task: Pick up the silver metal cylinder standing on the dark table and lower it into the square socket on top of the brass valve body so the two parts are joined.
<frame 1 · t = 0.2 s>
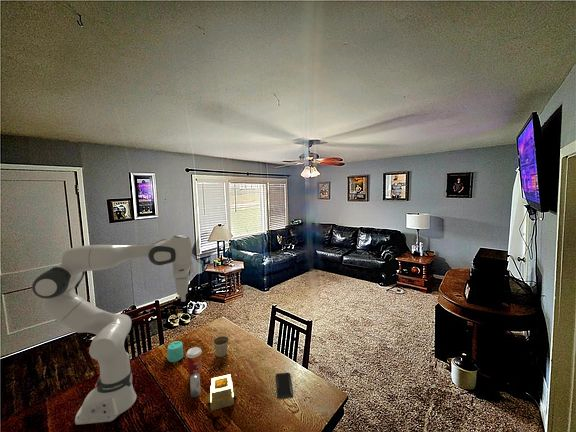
hand: (184, 296, 119), 47 cm above the table, fingers open, 8 cm apart
phone: (283, 386, 125), on the table
silver metal cylinder: (195, 393, 120), on the table
paper cup: (195, 375, 132), on the table
valve body: (222, 398, 117), on the table
flower pot: (221, 354, 149), on the table
turquoise rounded container: (175, 358, 147), on the table
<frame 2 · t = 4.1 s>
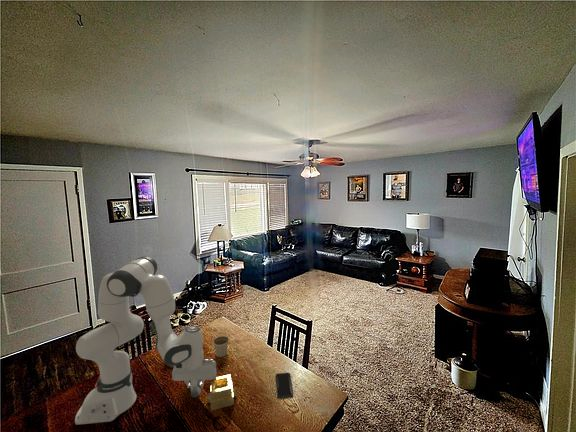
hand: (195, 386, 120), 4 cm above the table, fingers closed on silver metal cylinder, 4 cm apart
silver metal cylinder: (195, 393, 120), on the table, touching gripper
everything else where it was.
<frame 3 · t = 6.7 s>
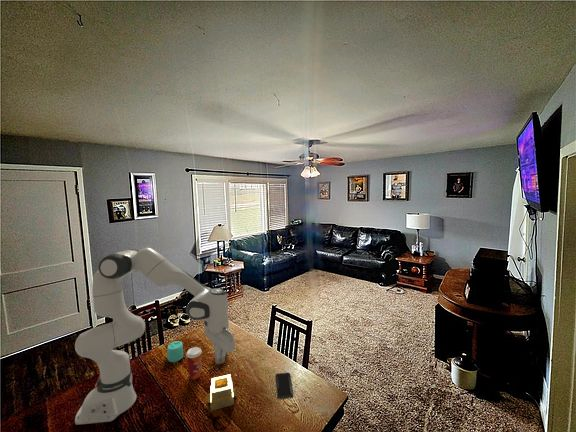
hand: (220, 352, 115), 23 cm above the table, fingers closed on silver metal cylinder, 4 cm apart
silver metal cylinder: (220, 360, 115), point 19 cm above the table, touching gripper
everything else where it was.
when the fingers open (10 cm above the table, at t = 9.4 s): silver metal cylinder drops 2 cm, resting on valve body.
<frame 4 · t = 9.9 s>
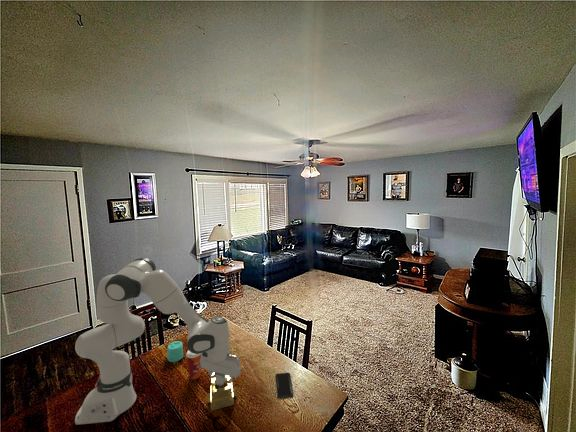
hand: (221, 380, 116), 10 cm above the table, fingers open, 8 cm apart
silver metal cylinder: (221, 391, 116), point 4 cm above the table, touching valve body
everything else where it was.
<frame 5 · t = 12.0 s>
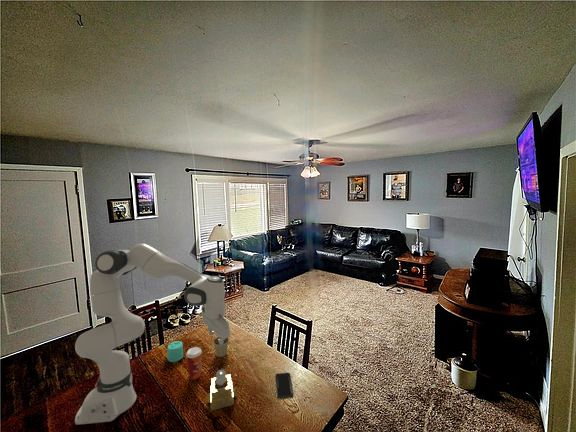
hand: (216, 338, 117), 28 cm above the table, fingers open, 8 cm apart
nothing on the table moved.
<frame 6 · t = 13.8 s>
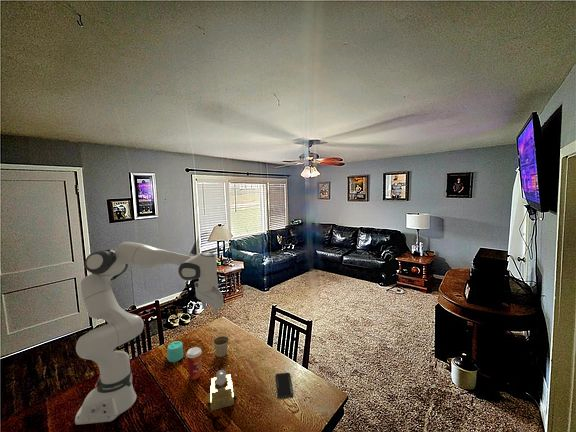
hand: (209, 311, 125), 37 cm above the table, fingers open, 8 cm apart
nothing on the table moved.
at the end: silver metal cylinder 0.2 cm off-centre on the valve body, point 4.1 cm above the valve body's base; silver metal cylinder tilted 2°; the gripper is holding nothing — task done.
